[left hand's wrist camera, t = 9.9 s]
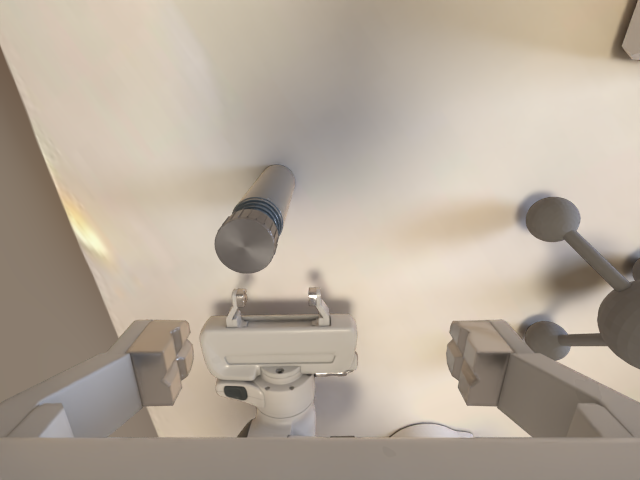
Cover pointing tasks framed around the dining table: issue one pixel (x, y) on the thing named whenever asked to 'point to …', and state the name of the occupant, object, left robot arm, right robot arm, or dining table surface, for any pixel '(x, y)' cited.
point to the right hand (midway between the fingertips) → (276, 290)
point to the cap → (247, 241)
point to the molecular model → (615, 310)
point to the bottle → (270, 194)
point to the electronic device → (633, 35)
